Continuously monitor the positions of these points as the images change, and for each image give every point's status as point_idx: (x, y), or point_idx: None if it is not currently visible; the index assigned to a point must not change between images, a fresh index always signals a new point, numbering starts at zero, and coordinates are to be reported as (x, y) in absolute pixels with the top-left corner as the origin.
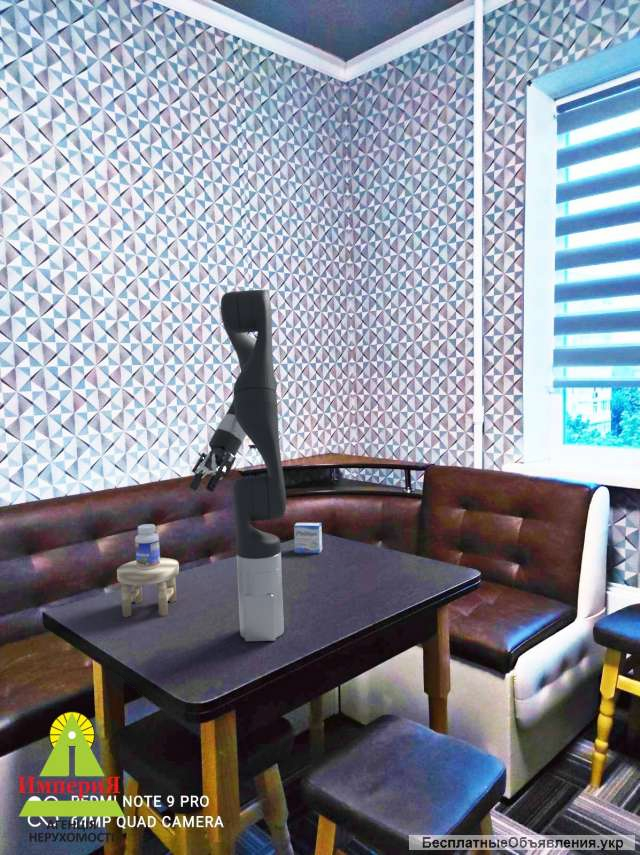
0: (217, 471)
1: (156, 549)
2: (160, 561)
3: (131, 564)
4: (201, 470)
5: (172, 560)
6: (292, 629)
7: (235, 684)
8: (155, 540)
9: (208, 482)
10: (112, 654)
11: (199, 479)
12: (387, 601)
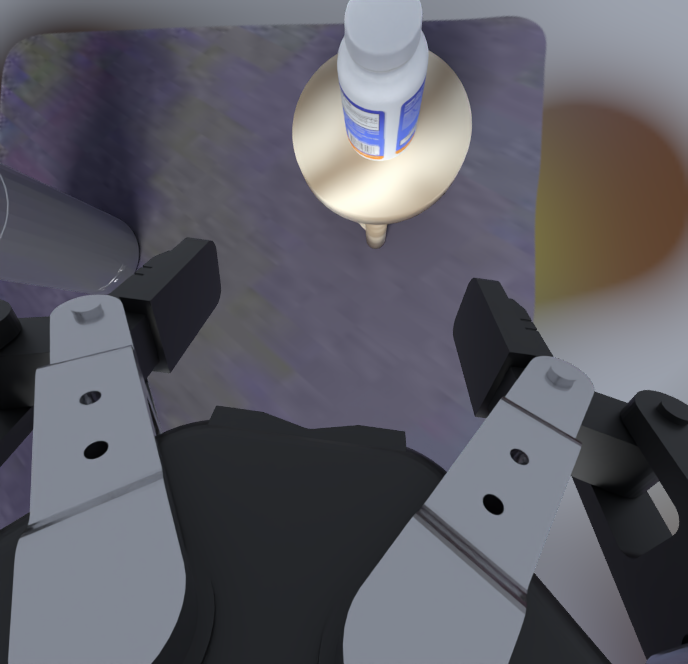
0: (8, 313)
1: (342, 103)
2: (394, 179)
3: (442, 105)
4: (624, 516)
5: (371, 208)
6: (69, 299)
7: (6, 108)
8: (338, 76)
9: (171, 257)
10: (239, 26)
11: (478, 380)
12: (12, 516)
